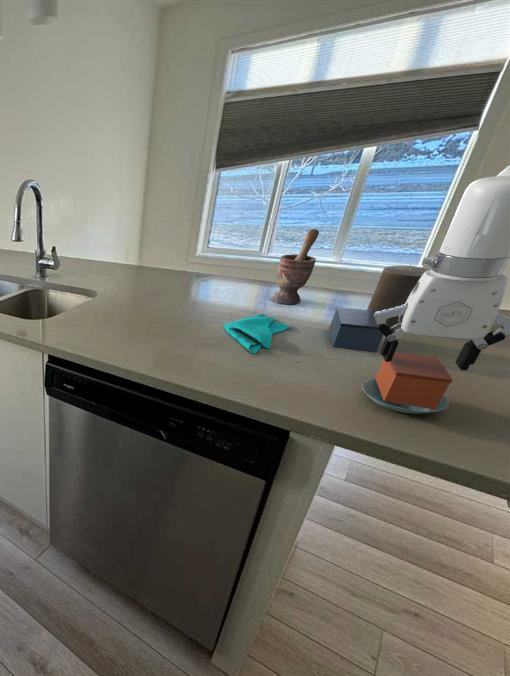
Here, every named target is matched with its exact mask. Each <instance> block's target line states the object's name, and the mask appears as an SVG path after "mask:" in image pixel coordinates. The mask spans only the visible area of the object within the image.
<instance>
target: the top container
mask: <svg viewBox="0 0 510 676" xmlns="http://www.w3.org/2000/svg"><path fill="white" fill-rule="evenodd" d="M375 379H376V382H377V384H378V387H379V390H380V392H381V395H382V398H383V400H384V401H385V402H392V403H398V404H404V405H410V406H416V407H422V408H428V409H436V407H437V406H438V404H439V402H440V400H441V398H442V397H443V395H444V396H445V393H446V391H447V389H448V388H449V386H450V384H452V383H453V378H452V377H451V375H450V373H449V372H448V370H447V369H446V368H445V366H444V365H443V363H442V362H441V360H440V359H439V357H438V356H432V355H425V354H417V353H409V352H408V353H407V352H400V351H395V353H394V355H393V358H392V360H391V362H385V360H384V359H382V362H381V365H380V367H379V369H378V371H377V374H376V376H375Z"/></svg>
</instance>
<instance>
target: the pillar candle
mask: <svg viewBox="0 0 510 676" xmlns="http://www.w3.org/2000/svg"><path fill="white" fill-rule="evenodd" d="M427 270H431V268H427V267H426V268H425V267H420V266H415V265H414V266H413V265H412V264H409V265H403V264H402V265H400V264H399V265H389V266H385V267H384V268H383V269H382V271H381V274H380V276H379V279H378V281H377V284H376V287H375V289H374V292H373V294H372V296H371V299H370V300H369V304H368V306H367V309H366V310H370V311H378V312H379V311H383V310H386V309H390V308H394V307H398V306H401V305H405V303H406V301H407V299H408V297H409V295H410V294H411V292H412V290H413V289H414V287H415V285H416V284H417V282H418V281H419V279H420V278H421V277H422V275H423V274H424V273H425V271H427ZM399 316H400V315H399ZM399 316H395V317H391V318H388V319H387V320H386V324H387V325H388V326H389V327H390V328H391V327H393V326H394V325H396V324H398V323H399V322H398V319H399Z"/></svg>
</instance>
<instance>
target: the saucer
mask: <svg viewBox="0 0 510 676" xmlns="http://www.w3.org/2000/svg"><path fill="white" fill-rule="evenodd" d="M375 378H376V377H375ZM375 378H369V379H366V380H364V382H362V384H361V389H362V390H363V392H364V393H365V394H366V396H367V397H368V398H370V400H372V401H373V402H374V403H375V404H377V405H379V406H381V407H383V408H385V409H387V410H390V411H394V412H398V413H403V414H411V415H412V414H413V415H423V414H424V415H425V414H432V413H437V412H441V411H444V410H445V409H447V408H448V407H449V405H450V403H449V400H448V398H447V397H446V396H445V394H444V395H443V397H442V398H441V400H440V402H439V404H438V406H437V407H436V409H428V408H422V407H416V406H410V405H404V404H398V403H392V402H385V401H384V400H383V398H382V395H381V392H380V390H379V387H378V384H377V382H376V379H375Z"/></svg>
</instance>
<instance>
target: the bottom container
mask: <svg viewBox="0 0 510 676" xmlns="http://www.w3.org/2000/svg"><path fill="white" fill-rule="evenodd" d="M334 310H335V311H334V313H333V316H332V319H331V322H330V326H329V327H328V333H329V336H330V340H331V345H332V347H333V348H340V349H348V350H357V351H364V352H365V351H366V352H374V353H376V352H377V351H378V349H379V346H380V345H381V342H382V339H383V337H384V335H383V334H382V333H381V332H380V331H379V329H378V327H377V324H376V321H375V318H374V313H376V312H378V311H370V310H367V309H356V308H345V307H335V309H334Z"/></svg>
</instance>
